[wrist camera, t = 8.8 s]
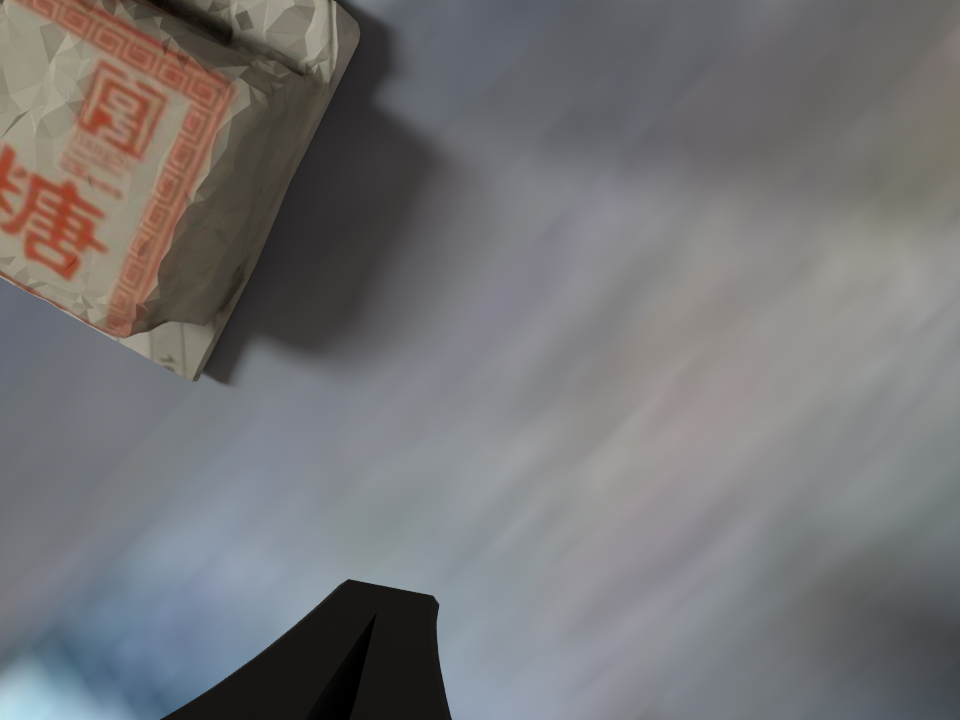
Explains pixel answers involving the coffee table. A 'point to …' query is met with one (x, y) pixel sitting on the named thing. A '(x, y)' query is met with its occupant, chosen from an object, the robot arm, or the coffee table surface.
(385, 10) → the coffee table surface
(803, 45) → the coffee table surface
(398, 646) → the robot arm
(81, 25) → the packaged product
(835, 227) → the coffee table surface
